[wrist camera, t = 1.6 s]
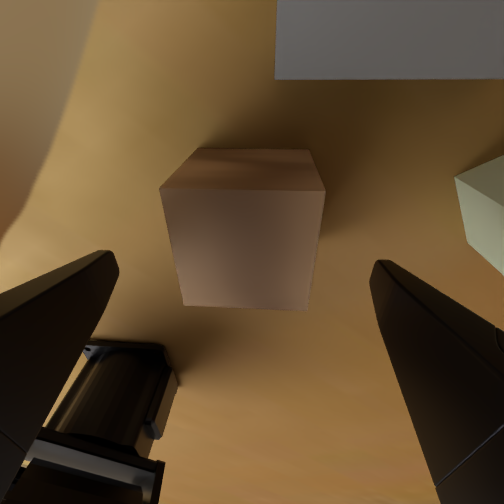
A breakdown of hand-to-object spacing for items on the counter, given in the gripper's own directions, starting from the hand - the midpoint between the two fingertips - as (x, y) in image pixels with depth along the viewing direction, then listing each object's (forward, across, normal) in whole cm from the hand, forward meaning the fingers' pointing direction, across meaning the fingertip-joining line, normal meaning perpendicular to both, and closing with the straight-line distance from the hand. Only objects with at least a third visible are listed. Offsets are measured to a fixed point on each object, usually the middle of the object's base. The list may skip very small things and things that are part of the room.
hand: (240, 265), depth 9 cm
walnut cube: (+5, 0, 0) cm, 5 cm away
